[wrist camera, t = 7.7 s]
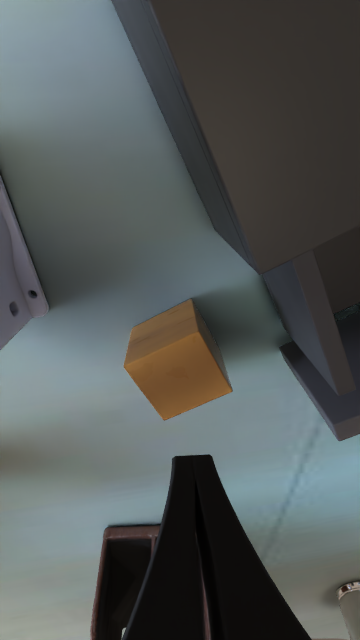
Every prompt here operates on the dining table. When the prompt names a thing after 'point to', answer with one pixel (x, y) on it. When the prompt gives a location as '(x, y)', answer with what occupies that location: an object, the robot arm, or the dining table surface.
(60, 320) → the dining table surface
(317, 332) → the dark grey drawer
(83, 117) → the dining table surface
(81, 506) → the dining table surface
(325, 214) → the black drawer cabinet
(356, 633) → the cup with straw
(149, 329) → the block
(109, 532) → the letter holder
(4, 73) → the dining table surface
